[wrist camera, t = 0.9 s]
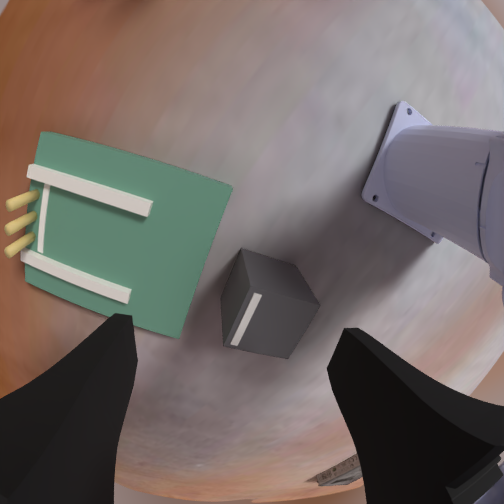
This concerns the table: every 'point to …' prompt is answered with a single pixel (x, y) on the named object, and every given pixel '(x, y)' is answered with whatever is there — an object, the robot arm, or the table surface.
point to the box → (341, 473)
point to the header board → (116, 230)
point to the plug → (265, 306)
